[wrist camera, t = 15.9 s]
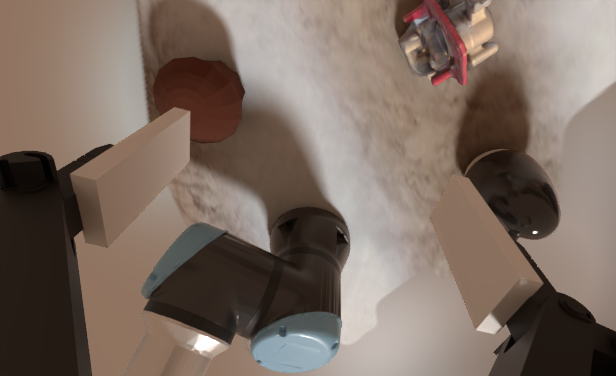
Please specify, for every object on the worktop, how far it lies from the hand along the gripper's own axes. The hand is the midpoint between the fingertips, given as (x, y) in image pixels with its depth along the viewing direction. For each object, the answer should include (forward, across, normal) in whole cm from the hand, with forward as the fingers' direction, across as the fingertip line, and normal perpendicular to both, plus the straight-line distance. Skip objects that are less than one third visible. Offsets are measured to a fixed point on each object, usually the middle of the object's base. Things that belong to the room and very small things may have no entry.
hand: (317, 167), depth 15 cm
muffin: (+32, +16, +8) cm, 37 cm away
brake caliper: (+32, -12, -6) cm, 35 cm away
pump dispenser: (+32, -28, +10) cm, 44 cm away
